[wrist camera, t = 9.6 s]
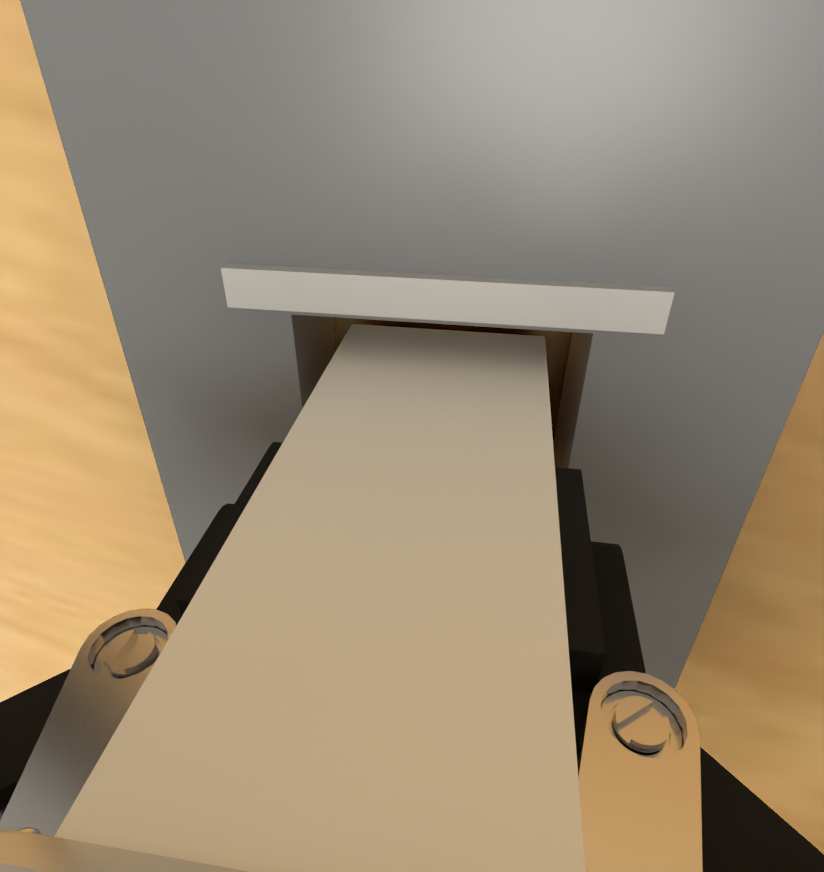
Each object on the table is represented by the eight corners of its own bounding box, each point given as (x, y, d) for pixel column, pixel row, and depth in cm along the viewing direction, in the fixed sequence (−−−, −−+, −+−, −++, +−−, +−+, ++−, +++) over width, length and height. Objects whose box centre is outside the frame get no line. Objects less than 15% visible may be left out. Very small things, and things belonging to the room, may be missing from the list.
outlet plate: (908, -136, 10) (1060, -201, 7) (638, 652, 21) (656, 746, 18) (94, -112, 11) (-41, -157, 9) (251, 604, 22) (214, 682, 20)
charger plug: (545, 336, 13) (637, 1545, 3) (523, 490, 16) (528, 1439, 5) (351, 324, 14) (-208, 1288, 3) (360, 474, 16) (57, 1305, 6)
